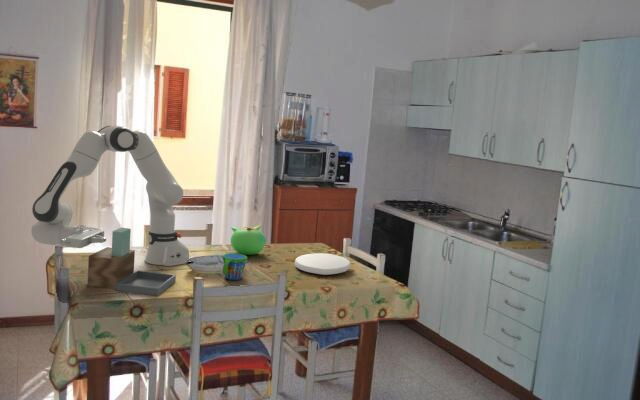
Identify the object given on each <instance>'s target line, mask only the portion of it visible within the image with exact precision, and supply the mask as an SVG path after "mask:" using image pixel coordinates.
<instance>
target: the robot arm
mask: <svg viewBox="0 0 640 400" xmlns="http://www.w3.org/2000/svg"><path fill="white" fill-rule="evenodd" d="M72 149H73V150H72V151H71V154H70V155H69V156H68V158H67V160H66V161H65V162H64V163H63V164H62V165H61V166H60V167H59V169H58V170H57V171H56V173H55V175H54V176H53V177H52V179H51V181H50V183H49V184H48V185H47V187H46V188H45V190H44V191H43V192H42V194H41V195H39V196H38V198H37V199H36V200H35V201H34V203H33V204H32V208H31V210H32V215H33V216H34V218H35V219H36V220H37V222H35V223H34V224H33V225H32V226H31V236H32V238H33V240H34V241H35V242H37V243H39V244H44V245H49V246H57V245H58V246H61V247H64V248H74V249H75V248H76V249H82V248H85V247H87V246H90V245H91V244H103V243H105V242H107V237H106V236H105V230H103V229H101V228H96V227H92V226H91V227H89V226H86V225H85V224H79V225H73V224H70V223H71V220H72V218H73V210H72V208H71V206H70V205H69V204H67V203H65V202H63V201H61V200H60V199H61V198H62V196H63V194H64V192H65V191H66V189H67V188H68V186H69V185H70V184H71V183H72V182H73V181H74V180H76V179H78V178H80V179H81V178H86V177H88V176H90V175H92V174H93V172H95V169H96V168H97V166H98V165H99V162H100V161H101V159H102V156H103V154H104V153H105V152H107V151H111V152H114V153H117V152H119V153H123V152H124V153H125V152H129V153H130V155H131V157H132V159H133V161H134V163H135V166H137V168H138V170H139V172H140V174H141V176H142V177H143V178H144V179H145V180H146V183H145V184H146V185H145V190H146V193H147V198H148V205H149V213H150V215H149V217H150V219H149V231H148V235H147V236H148V237H147V239H148V240H147V241H148V247H147V252H146V254H145V258H144V262H145V263H147V264H151V265H154V266H155V265H157V266H165V267H171V266H178V265H184V264H186V263H185V261H186V260H187V259H190V258H193V257H192V256H191V255H190V251H189V248H188V246H186V245H185V244H184V243H183V242H182V241H180V240H179V239H181V238H182V236H183V235H182V234H181V233H180V232H176V231H175V226H176V213H175V211H174V207H173V206H174V205H177V204H179V203H181V201H182V200H183V198H184V190H183V188H182V187H181V185H180V184H179V183H178V181H177V180H176V178H175V177H174V175H173V174H172V172H171V171H170V169H169V168H168V167H167V165H166V164H165V162H164V161H163V158H162V157H161V155H160V153H159V151H158V148H157V146H156V145H155V144H154V142H153V141H152V139H151V137H150V136H149V135H148V133H146V131H144V130H140V129H138V130H131V129H130V128H129V127H126V126H121V125H107V126H106V125H105V126H104V127H102V128H101V129H99V130H98V131H94V130H87V131H85V132H84V133H83V134H82V135H81V137H80V138H79V140H78V141H77V143H76V144H75V145H74V148H72ZM178 238H179V239H178Z"/></svg>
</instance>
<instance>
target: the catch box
mask: <svg viewBox="0 0 640 400" xmlns="http://www.w3.org/2000/svg"><path fill="white" fill-rule="evenodd" d="M176 279H177V275H176V274H170V273H163V272H162V273H160V272H156V271H155V272H154V271H147V270H146V271H145V270H139V269H138V270H134V272H133V273H132V274H130V275H129V276H127V277H125V278H124V279H122V280H121V281H119V282H117V283H116V289H115V291H116V292H123V293H132V294H137V295H138V294H139V295H146V296H153V297H154V296H155V297H159V296H160V295H161V294H163V293H164V291H166V290H167V289H168V288H170V287H172V285H174V284H175V283H176V282H177V281H176Z"/></svg>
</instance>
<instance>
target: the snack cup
mask: <svg viewBox="0 0 640 400" xmlns="http://www.w3.org/2000/svg"><path fill="white" fill-rule="evenodd" d="M221 258H222V260H223V267H222V274H223V275H224V278H225V279H227V280H230V281H239V280H241V279H243V277H244V275H243V274H244V270H245V267H246V262H247V261H248V255H245V254H241V253H233V252H232V253H225V254H222V257H221Z"/></svg>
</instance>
